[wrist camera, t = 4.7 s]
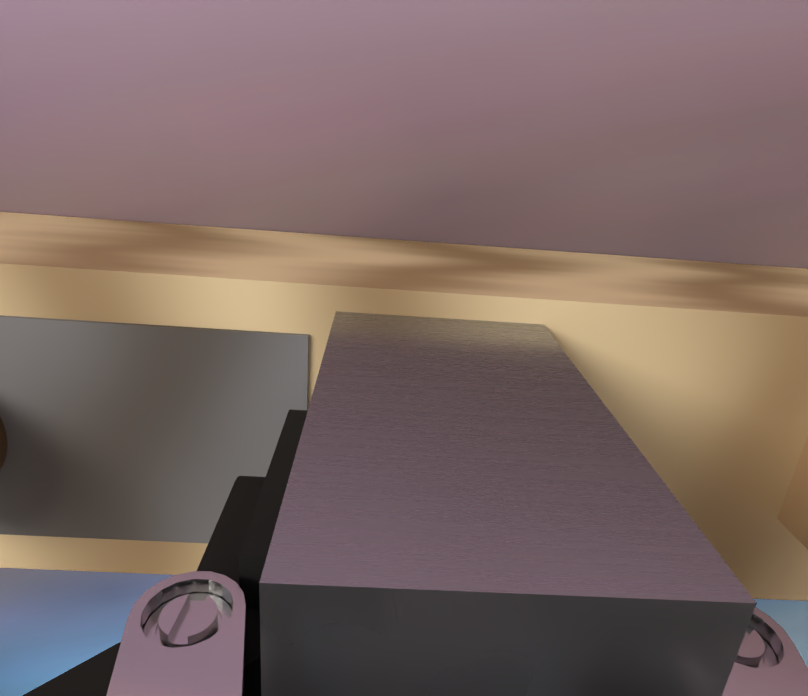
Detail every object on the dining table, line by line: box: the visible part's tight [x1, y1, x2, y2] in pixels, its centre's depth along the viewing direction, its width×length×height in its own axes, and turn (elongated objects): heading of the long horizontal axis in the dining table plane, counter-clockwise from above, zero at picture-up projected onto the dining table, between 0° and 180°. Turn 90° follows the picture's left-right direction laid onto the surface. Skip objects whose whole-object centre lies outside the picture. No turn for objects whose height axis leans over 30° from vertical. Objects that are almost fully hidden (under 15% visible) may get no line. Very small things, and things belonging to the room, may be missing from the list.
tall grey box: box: [259, 311, 757, 696], centre depth 9 cm, size 4×6×7 cm, turn 176°
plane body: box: [0, 212, 808, 601], centre depth 13 cm, size 24×7×8 cm, turn 86°
